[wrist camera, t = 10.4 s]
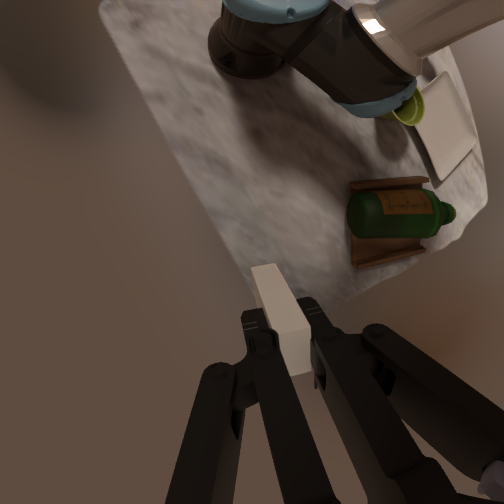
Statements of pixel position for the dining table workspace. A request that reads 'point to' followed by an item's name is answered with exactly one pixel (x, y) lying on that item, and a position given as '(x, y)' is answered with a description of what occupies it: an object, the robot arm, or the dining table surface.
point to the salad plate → (445, 125)
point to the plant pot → (408, 110)
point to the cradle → (384, 248)
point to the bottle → (397, 214)
